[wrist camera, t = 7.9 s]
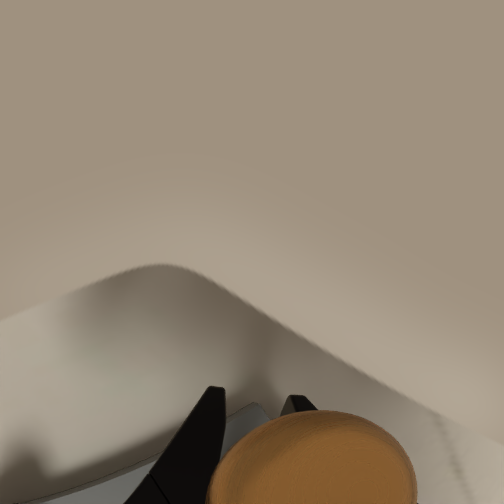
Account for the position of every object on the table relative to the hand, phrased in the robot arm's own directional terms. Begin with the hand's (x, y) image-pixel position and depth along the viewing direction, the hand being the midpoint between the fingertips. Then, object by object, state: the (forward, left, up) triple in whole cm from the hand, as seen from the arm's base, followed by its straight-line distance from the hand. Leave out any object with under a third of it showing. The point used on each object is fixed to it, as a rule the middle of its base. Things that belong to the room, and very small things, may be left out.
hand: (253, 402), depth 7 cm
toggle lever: (-4, +3, -4) cm, 7 cm away
